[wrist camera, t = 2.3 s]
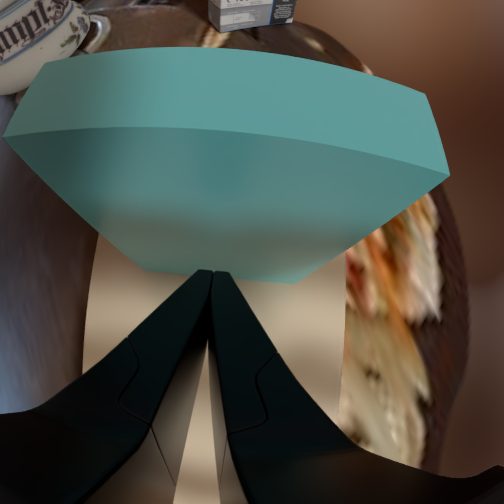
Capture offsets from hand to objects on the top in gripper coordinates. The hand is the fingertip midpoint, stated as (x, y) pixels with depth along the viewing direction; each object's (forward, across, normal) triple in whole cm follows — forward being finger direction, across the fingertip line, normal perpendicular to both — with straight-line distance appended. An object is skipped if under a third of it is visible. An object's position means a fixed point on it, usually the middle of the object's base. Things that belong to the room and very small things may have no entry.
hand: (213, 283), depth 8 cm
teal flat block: (+2, 0, -1) cm, 3 cm away
